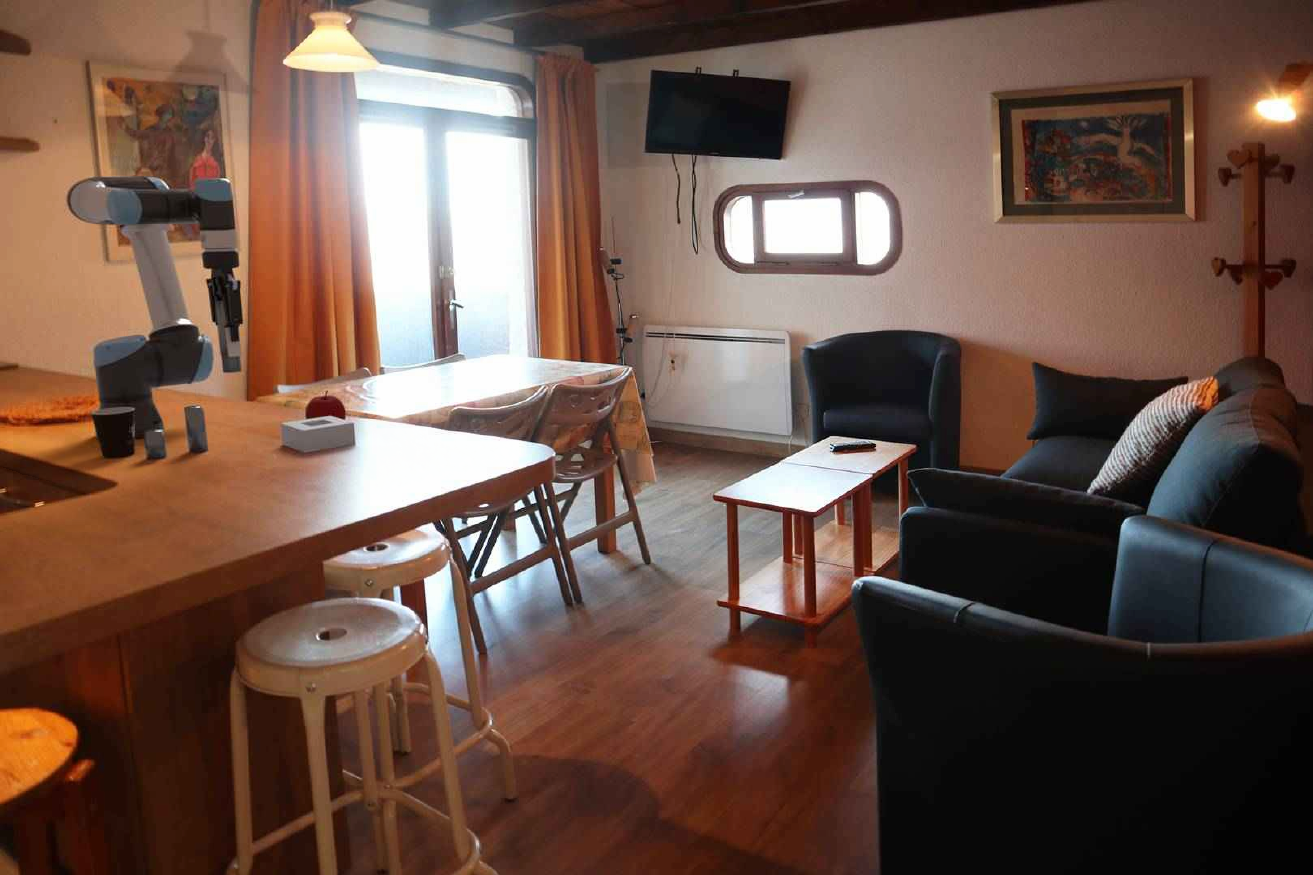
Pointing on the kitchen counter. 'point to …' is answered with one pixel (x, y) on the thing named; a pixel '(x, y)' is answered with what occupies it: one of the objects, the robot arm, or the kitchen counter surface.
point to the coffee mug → (115, 431)
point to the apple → (325, 407)
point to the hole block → (318, 433)
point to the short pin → (155, 444)
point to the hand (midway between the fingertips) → (230, 355)
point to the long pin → (227, 362)
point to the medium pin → (196, 429)
